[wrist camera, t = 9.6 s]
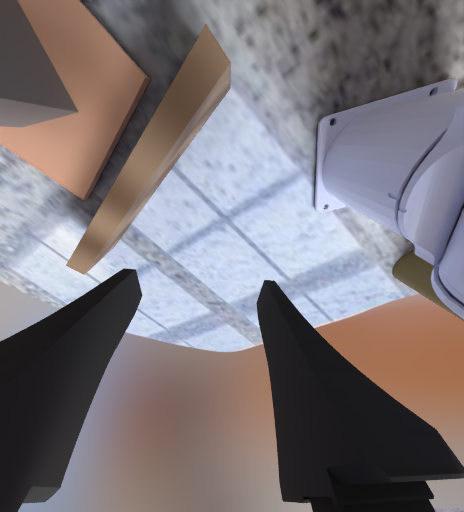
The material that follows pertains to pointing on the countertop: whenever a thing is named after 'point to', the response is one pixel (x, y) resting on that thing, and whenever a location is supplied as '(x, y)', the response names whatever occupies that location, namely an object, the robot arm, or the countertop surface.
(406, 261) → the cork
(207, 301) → the countertop surface
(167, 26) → the countertop surface
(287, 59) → the countertop surface
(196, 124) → the walnut screen
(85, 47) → the terracotta tile
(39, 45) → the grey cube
